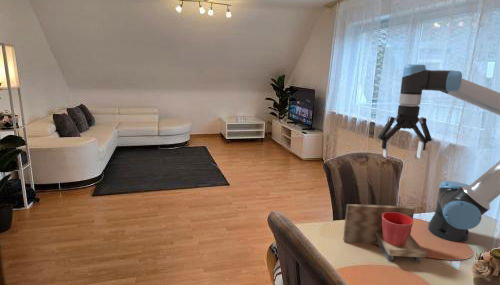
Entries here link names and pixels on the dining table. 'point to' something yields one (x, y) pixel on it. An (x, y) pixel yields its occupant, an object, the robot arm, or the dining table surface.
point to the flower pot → (396, 228)
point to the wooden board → (368, 221)
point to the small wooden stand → (401, 249)
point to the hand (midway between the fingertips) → (401, 157)
